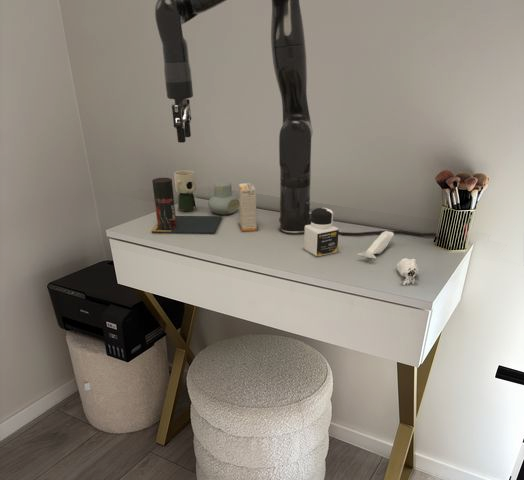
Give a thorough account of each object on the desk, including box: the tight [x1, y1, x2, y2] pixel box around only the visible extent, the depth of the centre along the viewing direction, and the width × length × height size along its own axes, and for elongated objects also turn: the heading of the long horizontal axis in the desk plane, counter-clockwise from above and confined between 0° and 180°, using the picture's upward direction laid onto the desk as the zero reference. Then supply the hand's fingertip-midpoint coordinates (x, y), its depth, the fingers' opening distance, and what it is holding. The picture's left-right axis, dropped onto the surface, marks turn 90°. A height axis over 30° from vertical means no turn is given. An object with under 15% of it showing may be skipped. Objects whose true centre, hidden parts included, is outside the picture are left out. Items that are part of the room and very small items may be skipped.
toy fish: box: [356, 230, 395, 259], centre depth 151 cm, size 6×18×4 cm, turn 149°
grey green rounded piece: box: [207, 180, 240, 216], centre depth 183 cm, size 11×8×10 cm
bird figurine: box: [395, 257, 420, 286], centre depth 136 cm, size 5×7×10 cm
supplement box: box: [238, 182, 258, 232], centre depth 169 cm, size 8×5×13 cm, turn 8°
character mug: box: [173, 169, 197, 212], centre depth 185 cm, size 11×7×13 cm, turn 155°
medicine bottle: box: [303, 207, 340, 257], centre depth 151 cm, size 7×7×12 cm
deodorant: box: [151, 177, 177, 230], centre depth 168 cm, size 6×6×15 cm
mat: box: [151, 215, 223, 235], centre depth 175 cm, size 20×16×1 cm
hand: (184, 139), depth 160 cm, fingers open, 8 cm apart
